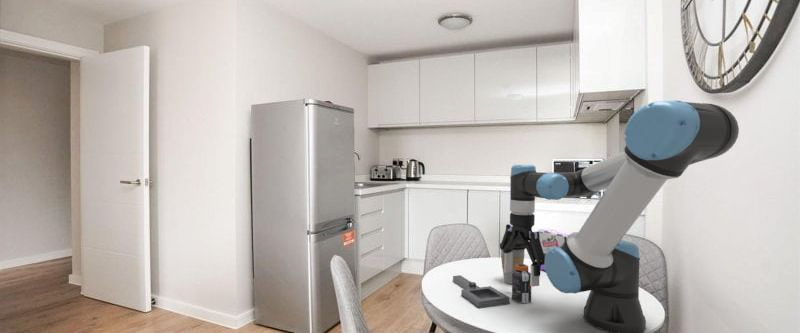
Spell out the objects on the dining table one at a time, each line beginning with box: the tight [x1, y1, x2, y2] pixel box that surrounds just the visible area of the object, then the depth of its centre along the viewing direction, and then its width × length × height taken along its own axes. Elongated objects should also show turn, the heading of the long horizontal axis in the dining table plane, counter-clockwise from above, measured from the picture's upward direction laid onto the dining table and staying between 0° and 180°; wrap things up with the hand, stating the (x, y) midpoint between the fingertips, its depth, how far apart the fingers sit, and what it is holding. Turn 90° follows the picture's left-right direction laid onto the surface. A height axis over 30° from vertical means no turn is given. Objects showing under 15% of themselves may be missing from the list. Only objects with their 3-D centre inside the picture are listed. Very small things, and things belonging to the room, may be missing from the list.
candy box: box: [537, 228, 571, 273], centre depth 150 cm, size 14×6×16 cm, turn 25°
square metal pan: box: [452, 274, 511, 309], centre depth 128 cm, size 25×11×3 cm, turn 19°
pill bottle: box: [511, 263, 532, 304], centre depth 122 cm, size 6×6×11 cm
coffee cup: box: [499, 241, 527, 285], centre depth 139 cm, size 9×9×15 cm
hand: (520, 278), depth 122 cm, fingers open, 13 cm apart
